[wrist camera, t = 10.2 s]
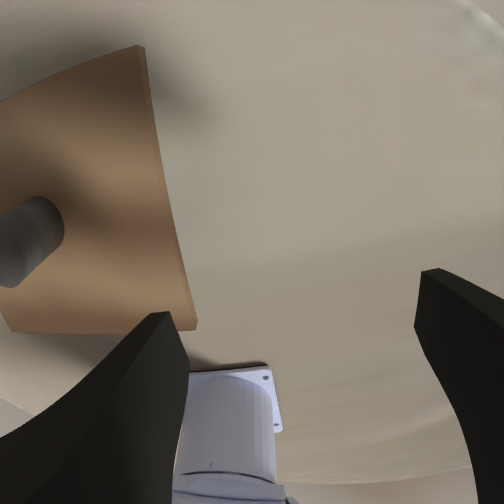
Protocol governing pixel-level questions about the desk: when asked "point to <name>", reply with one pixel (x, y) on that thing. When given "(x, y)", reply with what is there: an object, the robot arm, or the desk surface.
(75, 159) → the walnut lid
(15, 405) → the desk surface
